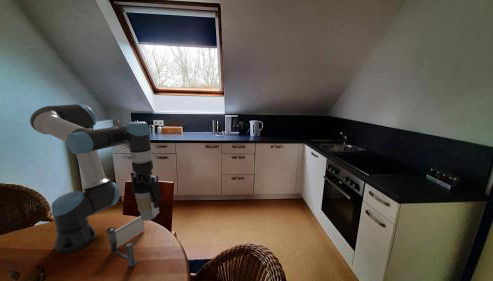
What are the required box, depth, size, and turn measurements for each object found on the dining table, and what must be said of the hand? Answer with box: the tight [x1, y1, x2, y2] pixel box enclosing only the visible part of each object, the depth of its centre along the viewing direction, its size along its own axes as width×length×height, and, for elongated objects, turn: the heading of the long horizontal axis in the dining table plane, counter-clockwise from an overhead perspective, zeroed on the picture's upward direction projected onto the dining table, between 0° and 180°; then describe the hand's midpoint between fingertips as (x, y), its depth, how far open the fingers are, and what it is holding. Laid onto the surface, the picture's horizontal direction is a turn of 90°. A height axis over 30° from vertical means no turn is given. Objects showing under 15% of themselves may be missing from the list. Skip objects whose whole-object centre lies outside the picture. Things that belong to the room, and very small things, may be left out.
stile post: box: [125, 242, 136, 268], centre depth 88 cm, size 2×2×10 cm
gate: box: [114, 215, 146, 248], centre depth 103 cm, size 14×1×8 cm, turn 152°
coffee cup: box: [133, 182, 158, 222], centre depth 90 cm, size 9×9×15 cm
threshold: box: [114, 250, 138, 265], centre depth 93 cm, size 14×1×1 cm, turn 62°
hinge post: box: [106, 226, 118, 253], centre depth 96 cm, size 3×3×11 cm
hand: (148, 211), depth 91 cm, fingers closed on coffee cup, 8 cm apart
